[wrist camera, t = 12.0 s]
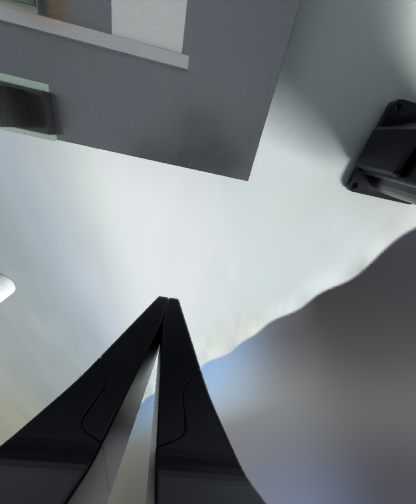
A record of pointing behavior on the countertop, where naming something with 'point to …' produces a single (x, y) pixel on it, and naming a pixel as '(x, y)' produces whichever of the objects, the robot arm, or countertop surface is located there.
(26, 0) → the block
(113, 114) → the breaker panel
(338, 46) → the countertop surface
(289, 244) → the countertop surface
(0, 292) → the white stepped cylinder
